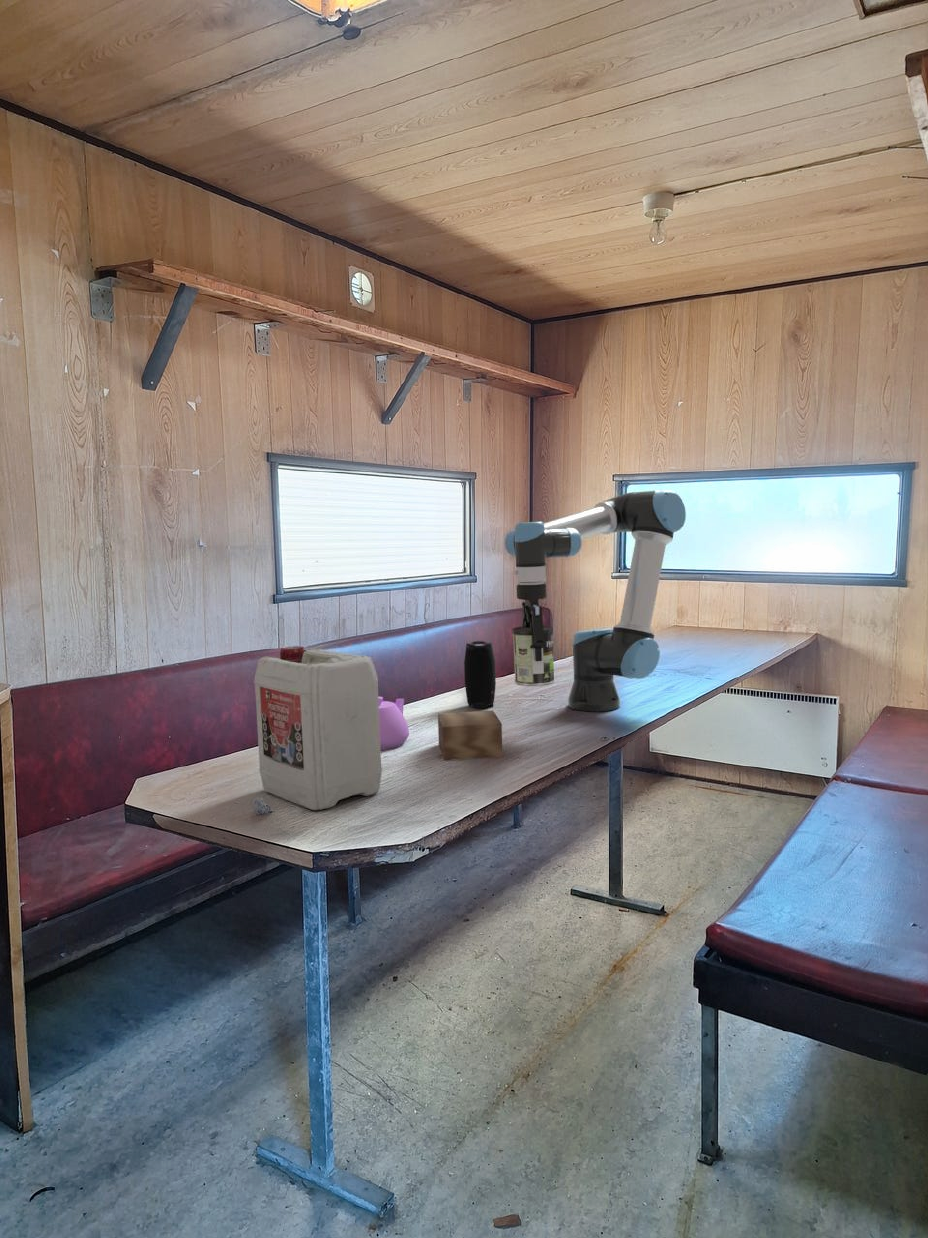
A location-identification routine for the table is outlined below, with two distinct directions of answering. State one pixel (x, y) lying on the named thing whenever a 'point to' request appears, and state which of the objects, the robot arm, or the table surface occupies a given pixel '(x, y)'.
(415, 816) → the table surface
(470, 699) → the portable speaker
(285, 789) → the jerry can
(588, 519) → the robot arm
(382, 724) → the teapot
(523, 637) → the coffee can
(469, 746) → the walnut block
